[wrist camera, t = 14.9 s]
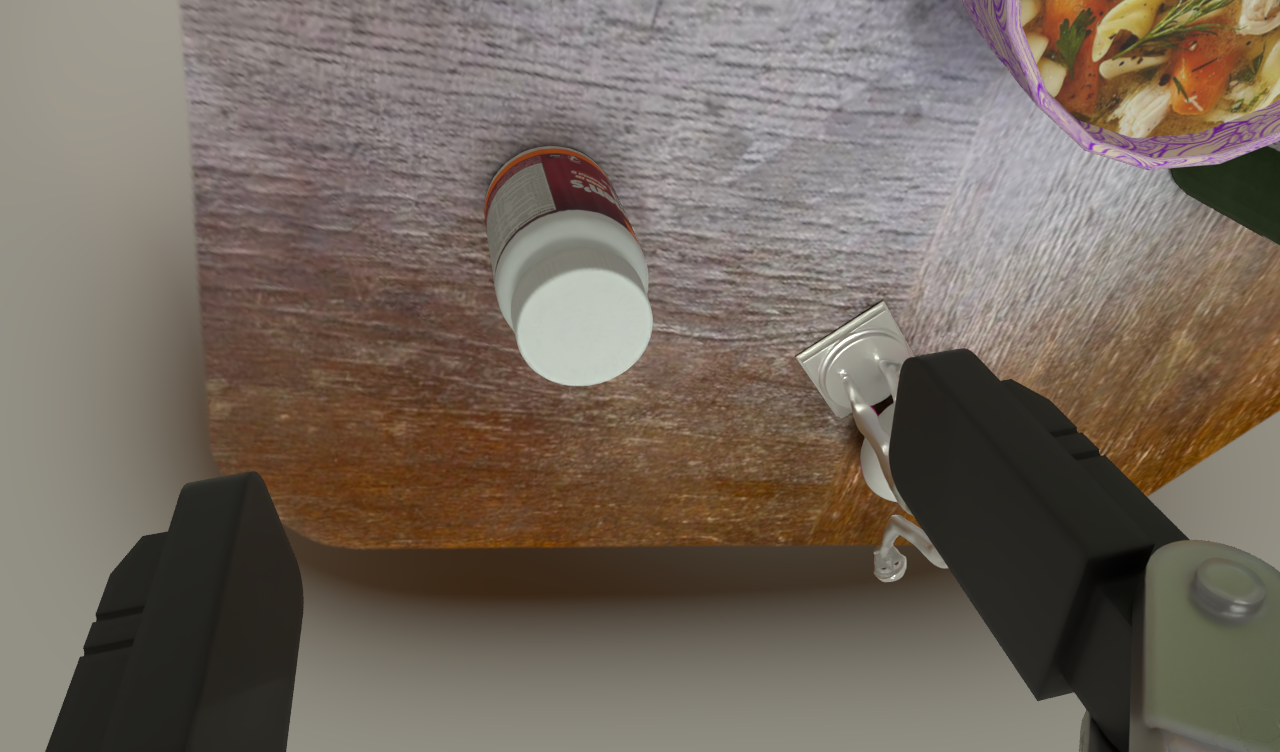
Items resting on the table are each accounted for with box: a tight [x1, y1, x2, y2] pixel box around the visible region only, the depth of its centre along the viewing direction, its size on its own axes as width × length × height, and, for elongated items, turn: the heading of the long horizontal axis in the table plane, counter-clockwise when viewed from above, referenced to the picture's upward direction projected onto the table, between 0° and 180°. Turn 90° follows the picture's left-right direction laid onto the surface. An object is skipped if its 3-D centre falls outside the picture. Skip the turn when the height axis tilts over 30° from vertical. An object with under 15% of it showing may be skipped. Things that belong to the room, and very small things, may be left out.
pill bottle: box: [484, 146, 653, 386], centre depth 37 cm, size 6×6×11 cm
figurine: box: [796, 301, 948, 582], centre depth 44 cm, size 8×7×18 cm
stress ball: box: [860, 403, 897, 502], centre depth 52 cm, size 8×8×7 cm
